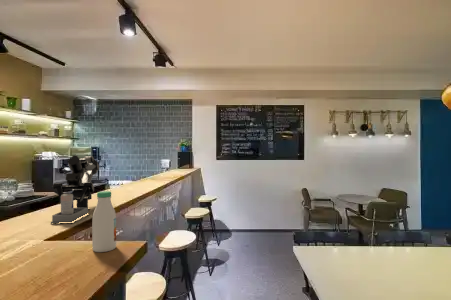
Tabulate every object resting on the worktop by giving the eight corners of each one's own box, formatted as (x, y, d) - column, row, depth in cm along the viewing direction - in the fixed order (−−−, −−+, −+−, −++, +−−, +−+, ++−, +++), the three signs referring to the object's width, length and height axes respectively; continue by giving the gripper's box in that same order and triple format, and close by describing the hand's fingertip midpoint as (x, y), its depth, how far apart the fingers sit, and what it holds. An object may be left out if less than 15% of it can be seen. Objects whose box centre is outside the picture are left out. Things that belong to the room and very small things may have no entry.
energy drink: (74, 217, 142) (74, 193, 142) (72, 219, 137) (72, 194, 137) (62, 218, 140) (61, 194, 140) (59, 220, 135) (59, 195, 135)
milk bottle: (110, 252, 96) (110, 193, 96) (88, 252, 96) (87, 193, 96) (119, 245, 104) (119, 190, 104) (98, 245, 104) (98, 190, 104)
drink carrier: (70, 215, 151) (70, 207, 151) (89, 214, 151) (89, 207, 151) (50, 224, 133) (50, 215, 133) (72, 223, 133) (72, 215, 133)
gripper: (53, 167, 145) (44, 192, 135) (92, 167, 149) (86, 191, 138) (59, 181, 153) (51, 205, 143) (96, 180, 157) (91, 204, 146)
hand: (70, 201), depth 142 cm, fingers open, 9 cm apart
